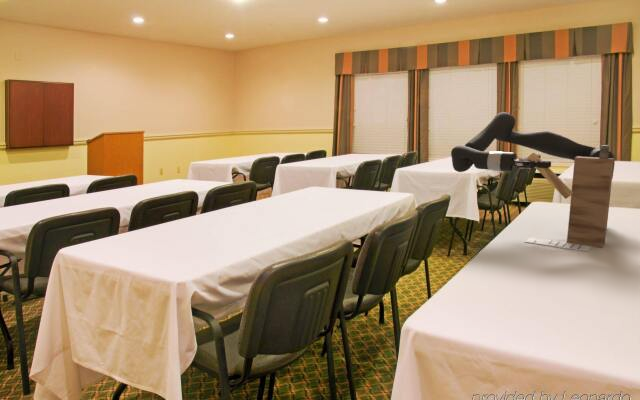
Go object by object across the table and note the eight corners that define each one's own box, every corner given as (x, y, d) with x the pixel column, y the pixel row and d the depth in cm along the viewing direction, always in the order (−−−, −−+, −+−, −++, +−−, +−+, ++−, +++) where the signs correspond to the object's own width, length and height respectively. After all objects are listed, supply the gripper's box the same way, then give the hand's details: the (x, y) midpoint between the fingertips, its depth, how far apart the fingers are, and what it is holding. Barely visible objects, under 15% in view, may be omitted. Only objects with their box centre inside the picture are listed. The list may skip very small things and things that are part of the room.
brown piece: (569, 239, 197) (578, 144, 191) (605, 244, 190) (615, 145, 184) (566, 242, 193) (575, 144, 186) (602, 247, 186) (613, 146, 179)
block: (528, 157, 193) (534, 152, 191) (567, 198, 186) (573, 193, 185) (526, 158, 190) (532, 153, 189) (565, 199, 184) (571, 193, 183)
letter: (530, 238, 199) (530, 237, 199) (590, 247, 186) (591, 246, 186) (524, 242, 192) (524, 241, 192) (586, 251, 180) (586, 250, 180)
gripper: (506, 169, 204) (553, 173, 193) (495, 172, 193) (543, 176, 182) (508, 150, 202) (555, 153, 192) (496, 152, 191) (545, 155, 181)
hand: (549, 164), depth 187 cm, fingers closed on block, 2 cm apart
